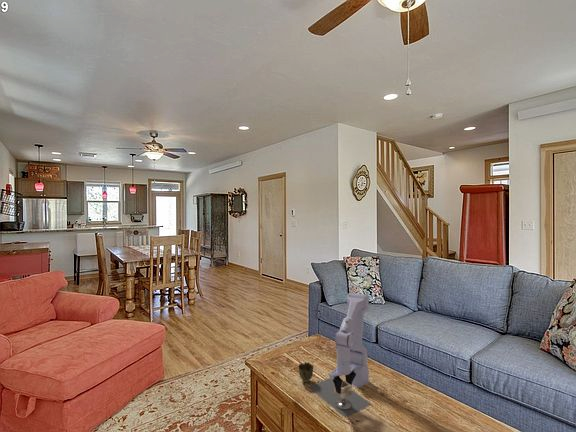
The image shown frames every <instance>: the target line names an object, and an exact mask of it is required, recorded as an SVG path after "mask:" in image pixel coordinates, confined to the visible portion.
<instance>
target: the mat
mask: <svg viewBox="0 0 576 432" xmlns="http://www.w3.org/2000/svg"><path fill="white" fill-rule="evenodd" d="M307 387H308V388H309V389H310V390H311V391H312V392H314V393H315V394H316V395H317V396H319V397H320V398H321V399H322V400H323V401H324V402H325V403H327V404H328V405H329V406H330V407H332V408H333V409H334V410H335V411H336V412H338V413H339V414H340V415H341V416H343V417H344V418H347V417H349V416H352V415H354V414H356V413H358V412H360V411H361V410H363V409H365V408H367V407H370V406H371V405H373V404H372V402H370V401H368V400H367V399H365V398H364V397H363V396H362V395H359V394H358V393H357V392H356V391H354V390H353V389H352V395H349V396H347V397H346V399H347V400H349V401H350V402H351V404H352V406H351V408H350V409H348V410H341V409H339V408H337V407H336V405H335V402H336V400H338V399H341V397H340V396H338V395H337V394H336V393H335V392H334V382H333V380H332V379H331V378H327V379H324V380H321V381H318V382H316V383H314V384H310V385H309V386H307Z"/></svg>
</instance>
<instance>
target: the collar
mask: <svg viewBox="0 0 576 432" xmlns="http://www.w3.org/2000/svg"><path fill="white" fill-rule="evenodd" d="M342 380H343V381H342V384H341V393H340V394H339V393H337V392H336V388H335V385H334V392H335V393H336V394H337V395H338V396H340V397H341V398H342V399H343V398H345V397H347V396H349V395H352V390H353V385H350V384H349V383H347V382H346V381H345V380H346V379H342Z"/></svg>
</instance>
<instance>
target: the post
mask: <svg viewBox="0 0 576 432" xmlns="http://www.w3.org/2000/svg"><path fill="white" fill-rule="evenodd" d="M335 405H336V407H337V408H339V409H341V410H348V409H350V408H351V406H352V404H351V402H350V401H349V400H347V399H346V397H345V398H343V399H342V398H341V399H338V400H336V402H335Z"/></svg>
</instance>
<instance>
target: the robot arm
mask: <svg viewBox="0 0 576 432" xmlns="http://www.w3.org/2000/svg"><path fill="white" fill-rule="evenodd" d="M369 301H370V299H369V295H368V294H363V293H355V292H349V293H347V295H346V304H347V307H348V308H347V313H346V317H344V318H343V319H342V321H341V325H340V328H339V330H338V331H337V332H336V333H335V337H334V344H335V349H336V366H335V369H333V370H332V371H331V372H329V373H328V374H329V376H328V377H329V378H331V379H332V380H333V382H334V385H335V388H336V392H337V393H339V394H340V393H341V384H342V381H343V380H345V381H346V382H347V383H349V384H350V385H352V387H354V388H356V389H358V388H360V387H363V386H366V385H367V384H369V383H370V380H369V374H370V372H369V370H370V369H369V365H368V358H369V357H368V350H367V348H366V347H365V346H364V345H363V335H364V321H365V320H364V317H365V312H367V311H369V305H370V304H369ZM341 376H345V379H342V378H341ZM329 378H328V379H329Z"/></svg>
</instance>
